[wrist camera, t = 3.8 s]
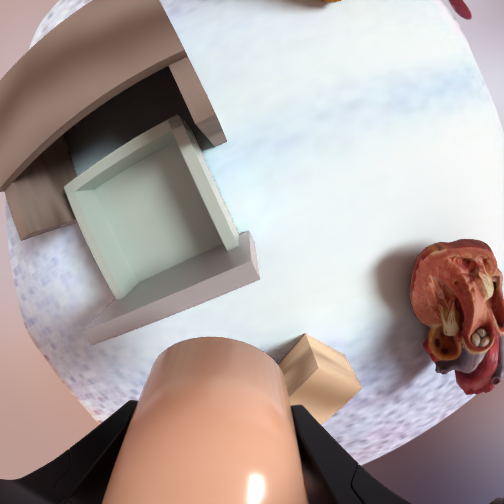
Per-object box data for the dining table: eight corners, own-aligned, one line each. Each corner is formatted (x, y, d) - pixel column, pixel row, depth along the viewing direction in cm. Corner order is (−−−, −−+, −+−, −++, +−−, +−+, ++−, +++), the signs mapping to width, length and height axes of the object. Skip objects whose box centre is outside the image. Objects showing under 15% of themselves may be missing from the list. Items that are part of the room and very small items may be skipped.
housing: (227, 141, 19) (213, 109, 10) (84, 220, 20) (12, 243, 11) (175, 34, 16) (144, -28, 7) (49, 116, 17) (-18, 102, 9)
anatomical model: (477, 207, 15) (537, 398, 7) (488, 247, 22) (525, 368, 15) (371, 273, 22) (410, 442, 14) (417, 288, 29) (445, 401, 22)
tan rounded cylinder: (281, 428, 10) (299, 546, 4) (164, 426, 10) (139, 537, 4) (290, 335, 9) (337, 503, 3) (137, 333, 9) (62, 477, 3)
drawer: (254, 242, 21) (259, 279, 13) (134, 295, 21) (90, 345, 14) (199, 121, 18) (171, 86, 10) (83, 189, 19) (19, 197, 11)
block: (311, 389, 25) (321, 424, 20) (271, 371, 24) (276, 408, 19) (344, 354, 24) (362, 387, 19) (305, 333, 23) (318, 367, 18)
